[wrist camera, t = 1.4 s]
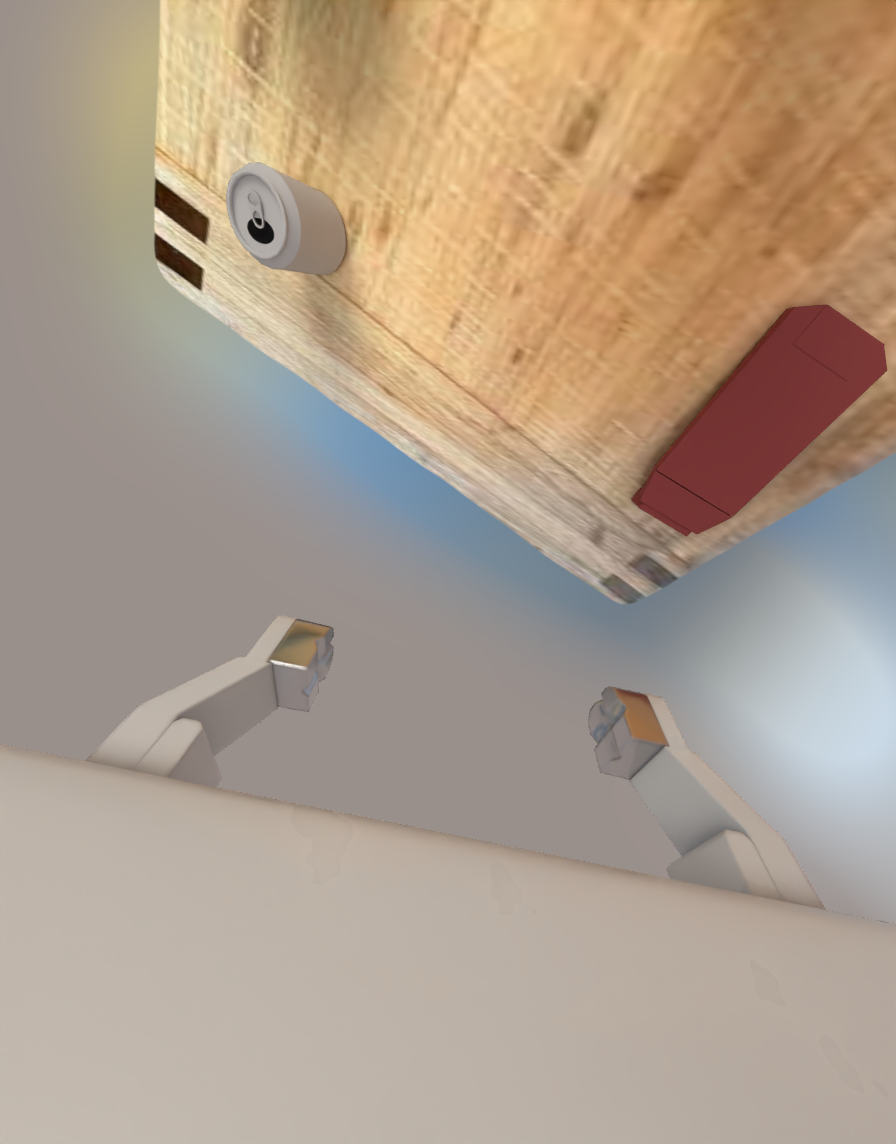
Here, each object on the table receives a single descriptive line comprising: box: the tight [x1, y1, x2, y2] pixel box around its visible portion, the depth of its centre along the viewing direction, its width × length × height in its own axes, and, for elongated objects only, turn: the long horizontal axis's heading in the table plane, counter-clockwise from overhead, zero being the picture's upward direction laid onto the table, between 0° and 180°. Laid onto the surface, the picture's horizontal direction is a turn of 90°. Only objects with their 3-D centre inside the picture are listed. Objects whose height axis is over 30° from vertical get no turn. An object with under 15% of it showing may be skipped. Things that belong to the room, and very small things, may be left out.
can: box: [226, 162, 346, 275], centre depth 38 cm, size 8×8×12 cm
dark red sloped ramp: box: [631, 305, 887, 536], centre depth 44 cm, size 12×5×25 cm
